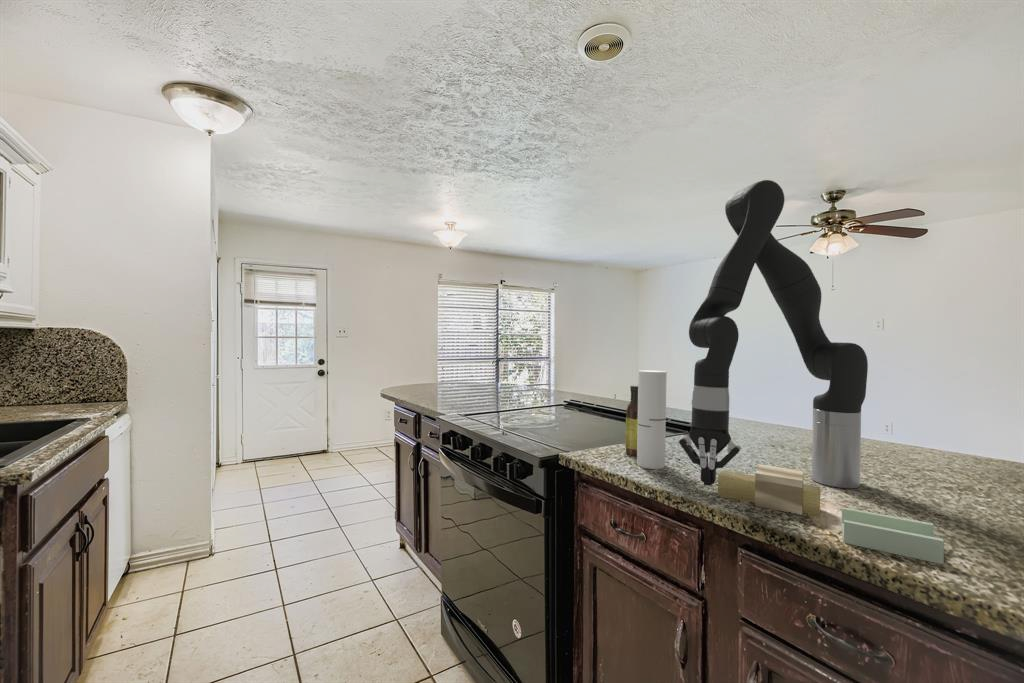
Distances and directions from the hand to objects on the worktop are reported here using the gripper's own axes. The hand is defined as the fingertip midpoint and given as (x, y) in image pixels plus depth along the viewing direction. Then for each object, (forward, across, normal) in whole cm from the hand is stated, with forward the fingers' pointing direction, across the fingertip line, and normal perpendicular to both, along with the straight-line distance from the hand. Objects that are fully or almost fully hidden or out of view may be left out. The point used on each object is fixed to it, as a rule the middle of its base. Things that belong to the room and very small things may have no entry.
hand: (707, 484), depth 98 cm
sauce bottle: (+2, +24, -21) cm, 32 cm away
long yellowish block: (-1, -11, 0) cm, 11 cm away
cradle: (+1, -30, +10) cm, 31 cm away
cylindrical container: (+2, +17, -12) cm, 21 cm away
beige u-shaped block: (+1, -14, 0) cm, 14 cm away
